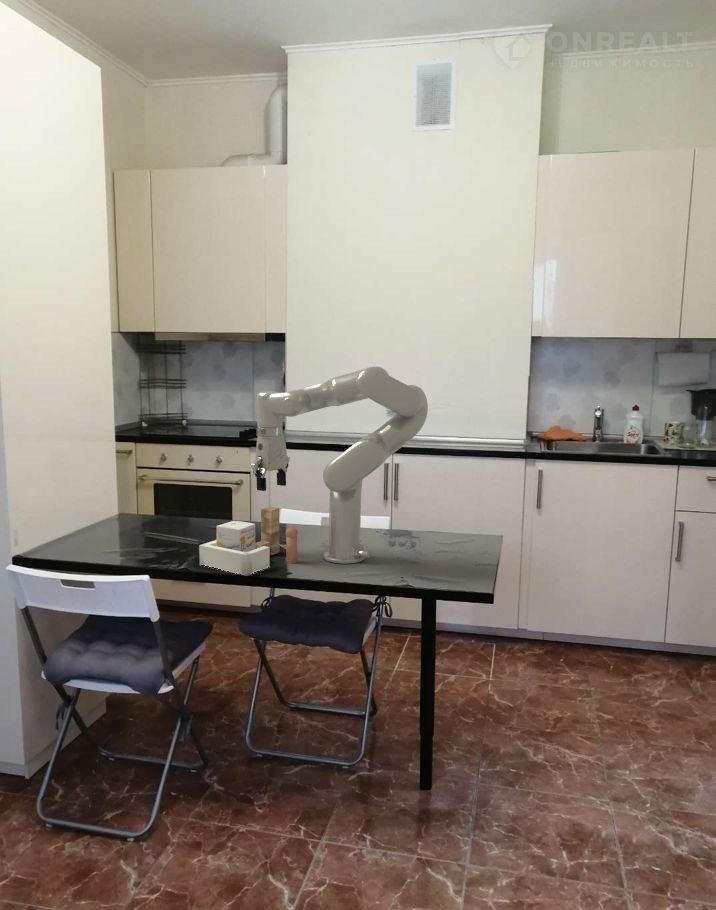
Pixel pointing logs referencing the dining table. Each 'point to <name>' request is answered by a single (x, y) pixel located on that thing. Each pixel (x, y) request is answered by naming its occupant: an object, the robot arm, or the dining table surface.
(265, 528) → the kicker
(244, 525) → the ink box
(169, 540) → the dining table surface
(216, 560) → the frame
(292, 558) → the figure left
